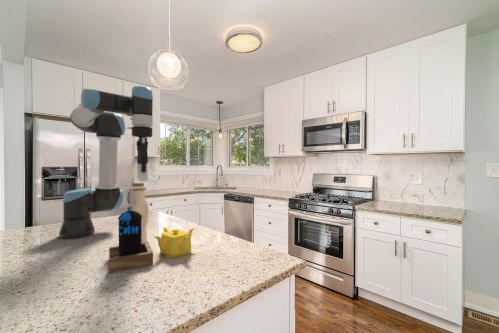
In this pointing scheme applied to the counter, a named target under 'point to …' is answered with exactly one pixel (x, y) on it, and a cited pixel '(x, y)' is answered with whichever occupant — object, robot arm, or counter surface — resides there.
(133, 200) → the water bottle
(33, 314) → the counter surface
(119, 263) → the u rest
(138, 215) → the aerosol can
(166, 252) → the teapot
